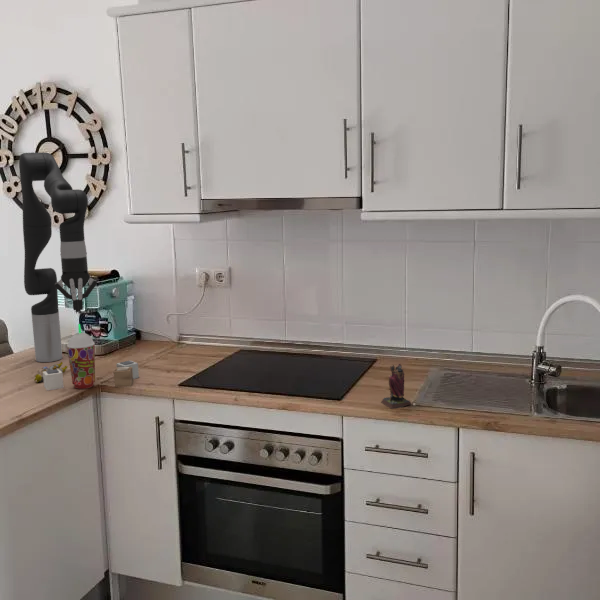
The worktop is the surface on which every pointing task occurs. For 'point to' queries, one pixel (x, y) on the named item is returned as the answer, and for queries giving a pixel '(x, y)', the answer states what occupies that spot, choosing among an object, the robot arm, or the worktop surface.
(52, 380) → the white hollow cube
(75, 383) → the smoothie
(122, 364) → the block grey numbered
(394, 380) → the figurine
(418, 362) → the worktop surface
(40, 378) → the toy
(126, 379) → the block walnut numbered
